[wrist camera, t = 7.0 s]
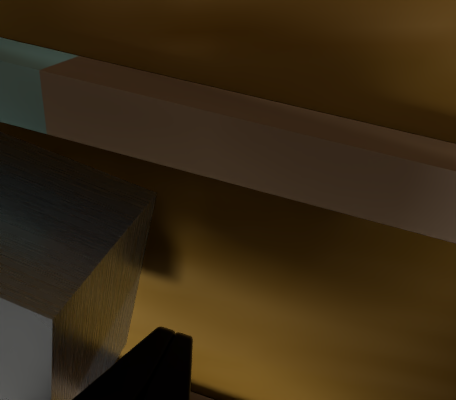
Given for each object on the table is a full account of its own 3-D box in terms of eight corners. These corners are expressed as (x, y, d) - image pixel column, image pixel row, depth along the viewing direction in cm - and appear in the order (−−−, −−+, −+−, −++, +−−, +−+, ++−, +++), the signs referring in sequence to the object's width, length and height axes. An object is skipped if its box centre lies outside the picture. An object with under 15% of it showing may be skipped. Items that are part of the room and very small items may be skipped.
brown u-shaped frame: (415, 492, 12) (432, 625, 10) (-107, 306, 15) (-196, 374, 13) (706, 202, 6) (944, 365, 4) (-268, -26, 9) (-507, -20, 6)
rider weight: (128, 338, 13) (49, 474, 9) (-11, 280, 13) (-135, 391, 10) (159, 189, 9) (52, 320, 6) (-31, 115, 9) (-234, 198, 6)
